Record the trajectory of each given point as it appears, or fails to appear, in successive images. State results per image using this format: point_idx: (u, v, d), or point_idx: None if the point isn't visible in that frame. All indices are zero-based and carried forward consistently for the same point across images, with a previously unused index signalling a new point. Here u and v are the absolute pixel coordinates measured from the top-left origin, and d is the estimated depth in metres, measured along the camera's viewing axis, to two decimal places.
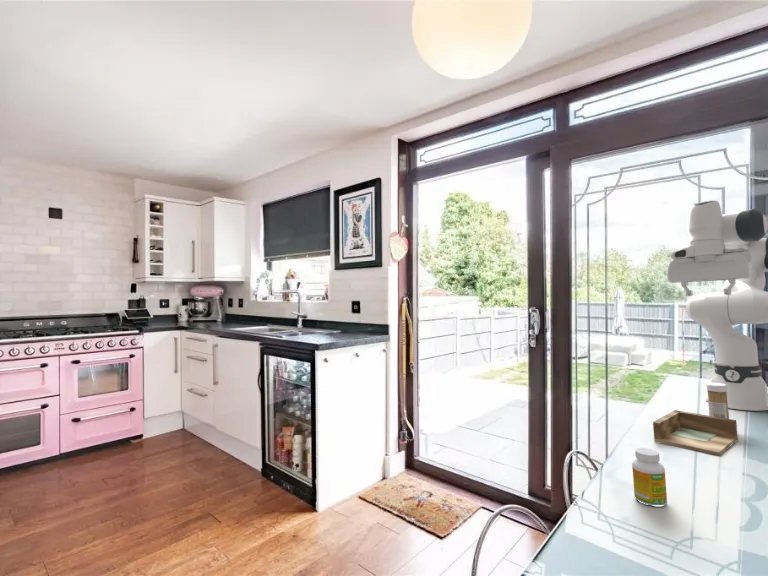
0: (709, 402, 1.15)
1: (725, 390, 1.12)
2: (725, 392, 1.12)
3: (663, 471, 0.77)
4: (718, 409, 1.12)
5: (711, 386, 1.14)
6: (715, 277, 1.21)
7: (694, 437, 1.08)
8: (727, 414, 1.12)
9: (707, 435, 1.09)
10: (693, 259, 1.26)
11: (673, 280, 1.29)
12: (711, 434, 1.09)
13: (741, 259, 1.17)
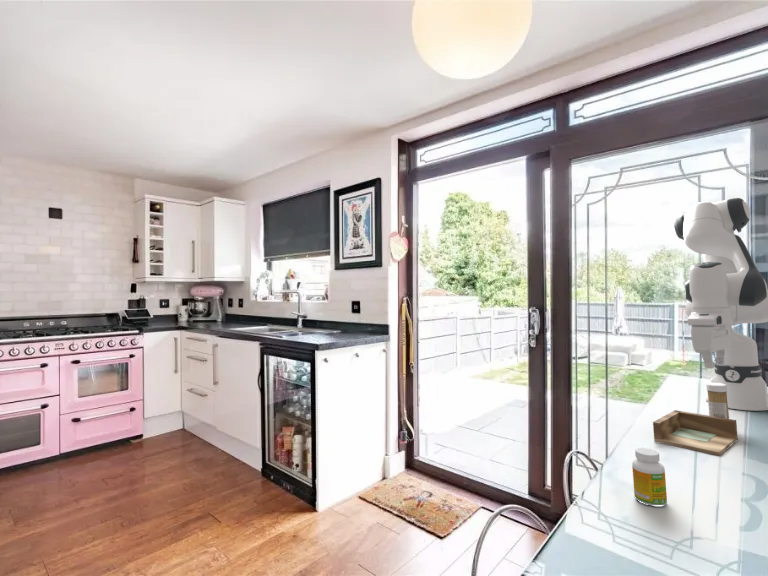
0: (709, 402, 1.15)
1: (725, 390, 1.12)
2: (725, 392, 1.12)
3: (663, 471, 0.77)
4: (718, 409, 1.12)
5: (711, 386, 1.14)
6: (723, 347, 1.14)
7: (694, 437, 1.08)
8: (727, 414, 1.12)
9: (707, 435, 1.09)
10: None
11: (711, 351, 1.08)
12: (711, 434, 1.09)
13: (729, 329, 1.18)
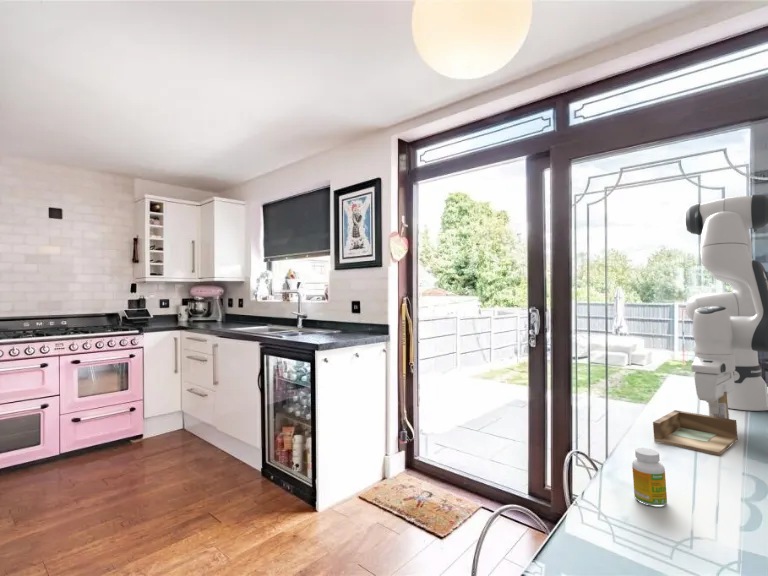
0: None
1: (725, 390, 1.12)
2: (725, 392, 1.12)
3: (663, 471, 0.77)
4: None
5: None
6: (727, 392, 1.14)
7: (694, 437, 1.08)
8: (727, 414, 1.12)
9: (707, 435, 1.09)
10: None
11: (715, 399, 1.08)
12: (711, 434, 1.09)
13: (732, 372, 1.18)
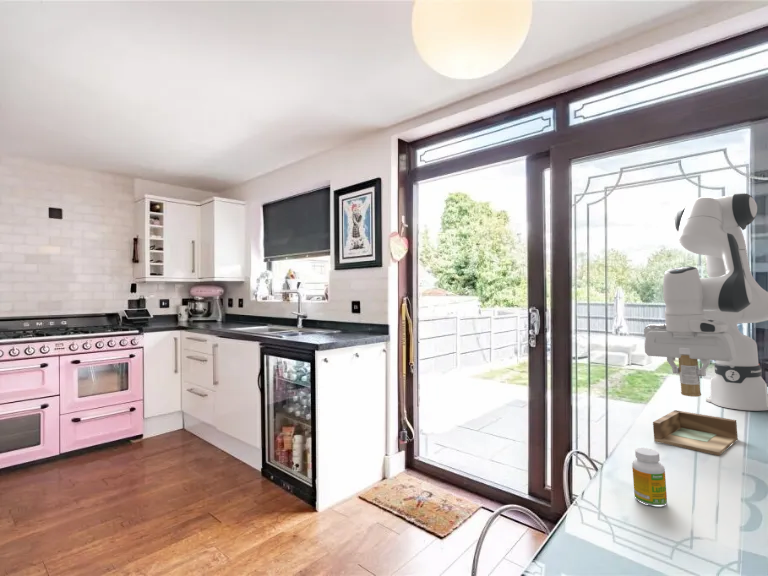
0: (692, 367, 1.08)
1: None
2: None
3: (663, 471, 0.77)
4: None
5: None
6: None
7: (694, 437, 1.08)
8: None
9: (707, 435, 1.09)
10: None
11: None
12: (711, 434, 1.09)
13: None
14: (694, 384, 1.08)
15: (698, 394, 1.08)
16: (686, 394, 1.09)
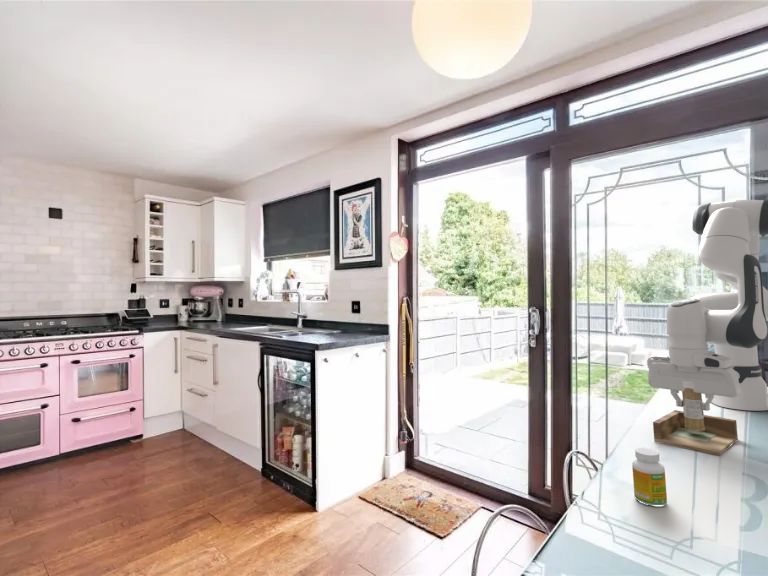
0: (696, 401, 1.08)
1: None
2: None
3: (663, 471, 0.77)
4: None
5: None
6: None
7: (694, 437, 1.08)
8: None
9: (707, 435, 1.09)
10: None
11: None
12: (711, 434, 1.09)
13: None
14: (698, 418, 1.08)
15: (702, 428, 1.08)
16: (690, 428, 1.09)
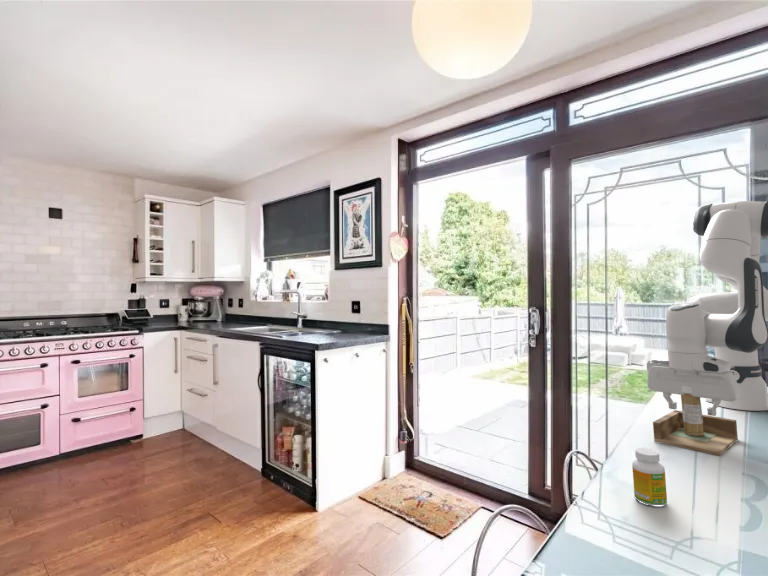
0: (695, 406, 1.08)
1: None
2: None
3: (663, 471, 0.77)
4: (701, 411, 1.09)
5: None
6: None
7: (694, 437, 1.08)
8: None
9: (707, 435, 1.09)
10: None
11: None
12: (711, 434, 1.09)
13: None
14: (697, 423, 1.08)
15: (701, 433, 1.08)
16: (689, 433, 1.09)
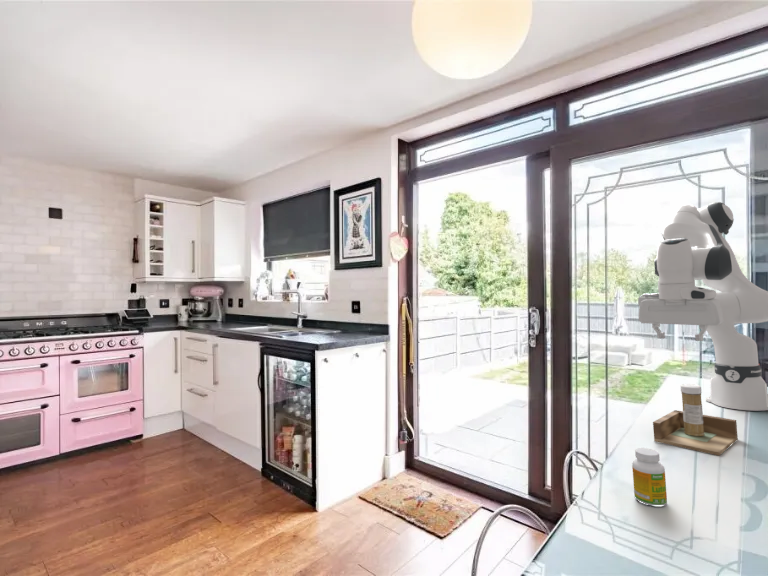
0: (696, 406, 1.08)
1: None
2: None
3: (663, 471, 0.77)
4: (702, 411, 1.09)
5: (699, 388, 1.08)
6: None
7: (694, 437, 1.08)
8: None
9: (707, 435, 1.09)
10: None
11: None
12: (711, 434, 1.09)
13: None
14: (697, 424, 1.08)
15: (701, 434, 1.08)
16: (689, 433, 1.09)
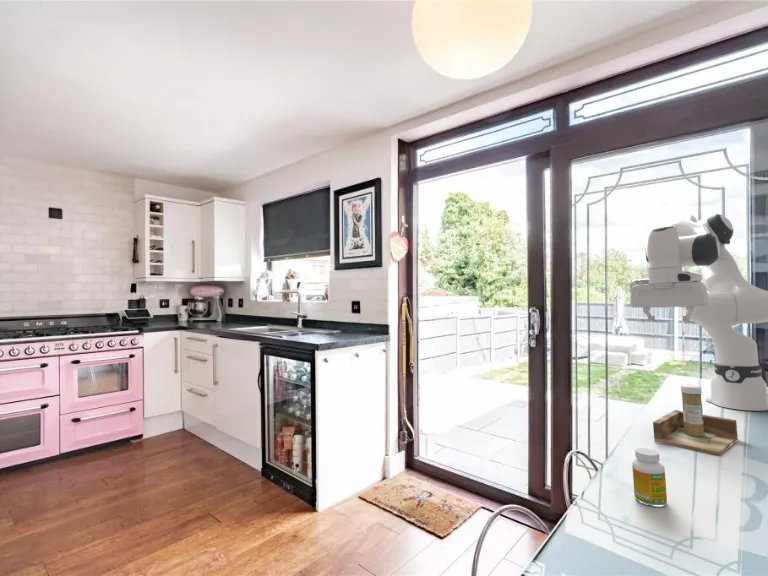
0: (696, 406, 1.08)
1: None
2: None
3: (663, 471, 0.77)
4: (702, 411, 1.09)
5: (699, 388, 1.08)
6: None
7: (694, 437, 1.08)
8: None
9: (707, 435, 1.09)
10: None
11: None
12: (711, 434, 1.09)
13: None
14: (697, 424, 1.08)
15: (701, 434, 1.08)
16: (689, 433, 1.09)
